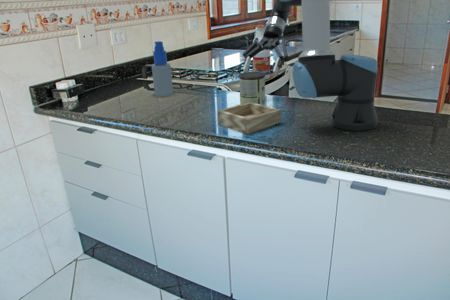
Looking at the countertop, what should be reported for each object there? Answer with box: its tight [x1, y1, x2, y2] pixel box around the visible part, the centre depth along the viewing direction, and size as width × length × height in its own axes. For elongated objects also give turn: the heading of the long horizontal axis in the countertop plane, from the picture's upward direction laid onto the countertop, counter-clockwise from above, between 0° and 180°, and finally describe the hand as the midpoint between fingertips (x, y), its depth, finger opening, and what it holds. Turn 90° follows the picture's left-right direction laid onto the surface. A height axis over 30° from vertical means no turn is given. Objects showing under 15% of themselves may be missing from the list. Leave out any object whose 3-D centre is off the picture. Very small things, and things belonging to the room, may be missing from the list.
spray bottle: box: [151, 41, 174, 98], centre depth 179 cm, size 9×9×25 cm
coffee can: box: [238, 71, 266, 106], centre depth 150 cm, size 10×10×14 cm
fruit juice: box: [252, 24, 271, 80], centre depth 203 cm, size 9×9×28 cm
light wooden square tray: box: [217, 102, 282, 135], centre depth 134 cm, size 16×16×5 cm
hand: (259, 72), depth 154 cm, fingers open, 13 cm apart
